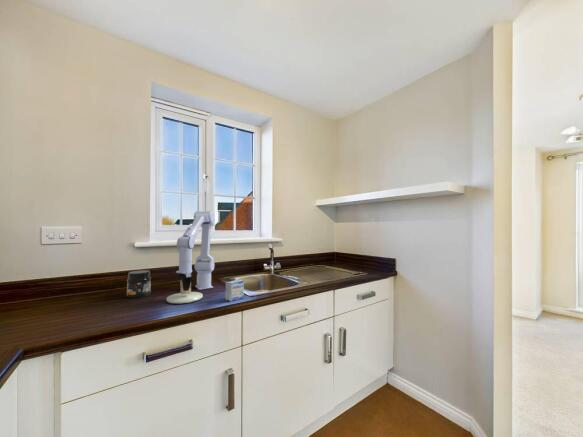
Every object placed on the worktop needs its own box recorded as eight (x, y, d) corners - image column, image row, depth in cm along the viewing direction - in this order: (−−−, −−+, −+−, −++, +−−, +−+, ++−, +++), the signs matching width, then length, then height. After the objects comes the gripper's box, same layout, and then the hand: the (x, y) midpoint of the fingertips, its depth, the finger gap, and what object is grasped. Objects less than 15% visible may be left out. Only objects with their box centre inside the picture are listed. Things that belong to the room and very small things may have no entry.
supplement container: (122, 296, 123) (122, 272, 124) (143, 291, 133) (143, 269, 133) (134, 299, 118) (134, 274, 119) (155, 294, 128) (155, 271, 128)
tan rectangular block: (180, 292, 119) (180, 280, 119) (189, 291, 121) (189, 279, 122) (182, 294, 116) (182, 281, 116) (190, 293, 118) (191, 280, 118)
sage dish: (164, 298, 120) (164, 295, 120) (198, 293, 130) (198, 290, 130) (169, 307, 107) (169, 303, 107) (206, 300, 116) (206, 297, 116)
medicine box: (231, 302, 115) (231, 283, 115) (225, 300, 117) (225, 282, 118) (244, 298, 121) (244, 280, 121) (238, 296, 124) (238, 279, 124)
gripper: (173, 260, 123) (173, 287, 122) (179, 263, 111) (179, 294, 110) (188, 259, 127) (188, 285, 126) (195, 262, 115) (195, 291, 114)
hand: (185, 289), depth 119 cm, fingers closed on tan rectangular block, 4 cm apart
